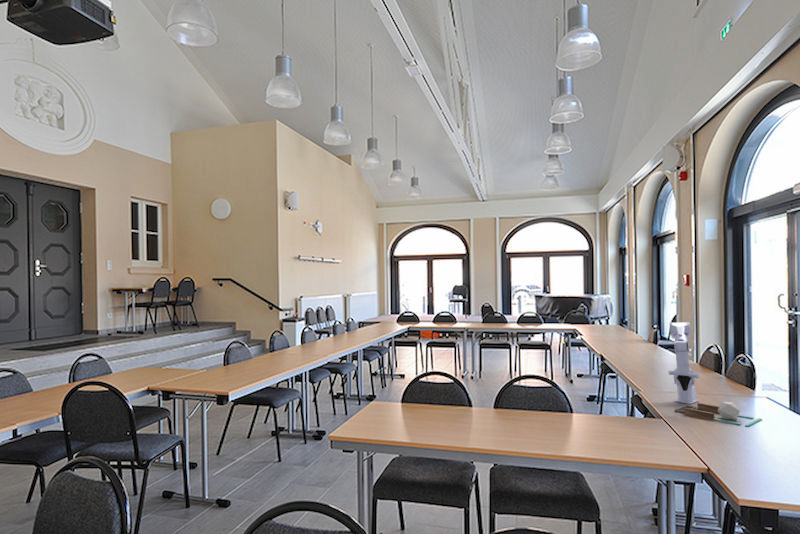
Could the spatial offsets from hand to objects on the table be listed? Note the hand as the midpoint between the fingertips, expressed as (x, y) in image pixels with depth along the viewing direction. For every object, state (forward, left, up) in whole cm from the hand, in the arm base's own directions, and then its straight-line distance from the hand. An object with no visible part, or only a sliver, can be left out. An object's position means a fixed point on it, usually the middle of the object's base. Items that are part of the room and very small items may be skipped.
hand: (685, 390), depth 236 cm
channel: (0, +9, -10) cm, 14 cm away
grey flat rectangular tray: (0, -1, -10) cm, 10 cm away
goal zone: (0, +23, -10) cm, 25 cm away
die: (0, +19, -11) cm, 22 cm away
